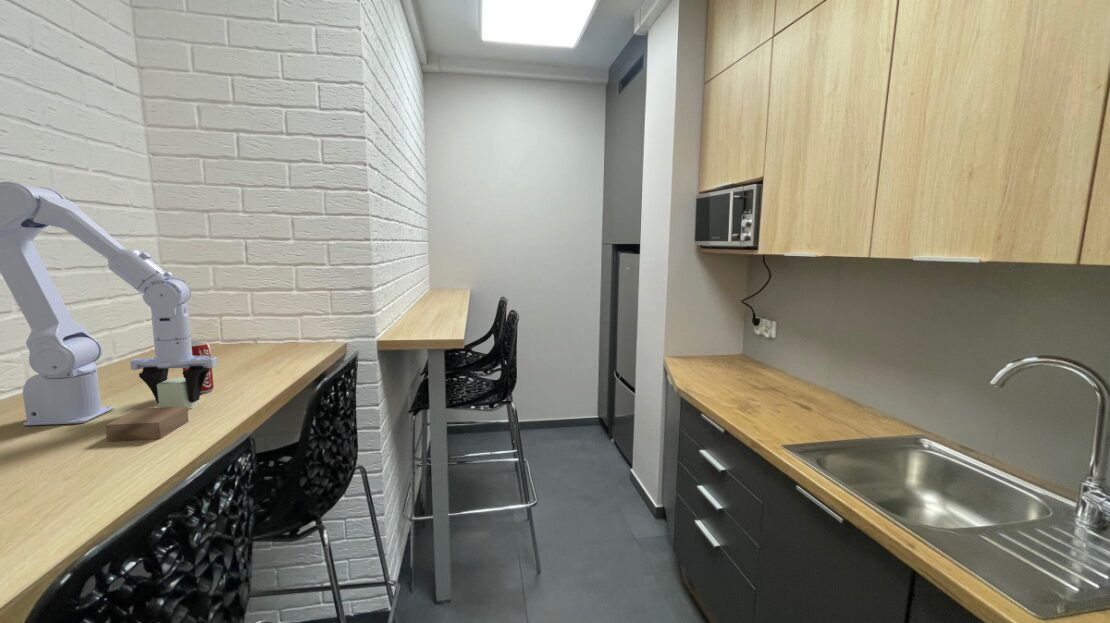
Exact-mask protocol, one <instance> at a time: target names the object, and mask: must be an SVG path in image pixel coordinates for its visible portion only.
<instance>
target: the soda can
mask: <svg viewBox="0 0 1110 623" xmlns="http://www.w3.org/2000/svg"><path fill="white" fill-rule="evenodd" d="M208 341H209V340H208V339H191V346H192V356H204V357H212V352H211V345H210V344H209V342H208ZM188 369H190V368H182V373H183V372H184V371H186V370H188ZM182 375H183V374H182ZM213 377H214V376H213V368H210V370H209V372H208V373H207V375H206V377H205V380H204V382H203V385H202V388H201V392H200V395H204V394H208V393H211V392H212V391H213V390H214V378H213ZM182 378H185V377H184V375H183V377H182Z"/></svg>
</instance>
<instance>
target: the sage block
mask: <svg viewBox="0 0 1110 623" xmlns="http://www.w3.org/2000/svg"><path fill="white" fill-rule="evenodd" d="M157 391H158V401H159V404H158V408H161V407H187V409H188V411H189V410H190V409H193V408H194V407H196V406H197V405H198V404H199V400H197V401H196V402H193V403H190V401H189V395H188V386H187V383H186V380H185V378H184V377H171V378H169V379H168V378H167V380H166V381H163V382H161V383H159V384H157Z"/></svg>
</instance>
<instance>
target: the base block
mask: <svg viewBox="0 0 1110 623" xmlns="http://www.w3.org/2000/svg"><path fill="white" fill-rule="evenodd" d="M188 422H189V410H188V409H187V407H161V408H159V407H142V408H141V407H139V408H137V409H134V410H133V411H131V412H128V413H126V414H124V415H123V416H121V417H119V418H116V419H114V420H112V421H111V422H108V423H106V424H105V431H106V432H105V433H106V440H107V442H122V441H139V440H140V441H142V440H144V441H145V440H158V439H159V440H160V439H163V438H164V437H166V436H167V435H169V434H171V433H172V432H174V431H176V430H178V429H179V428H180V427H182V426H183V425H185V424H187V423H188Z"/></svg>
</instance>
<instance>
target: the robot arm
mask: <svg viewBox="0 0 1110 623" xmlns="http://www.w3.org/2000/svg"><path fill="white" fill-rule="evenodd" d="M49 226H51V227H55V228H59V229H62V230H65V231H66V232H68V233H69V234H71V235H72V236H74V237H75V238H76V239H77V240H79V241H81V242H82V243H83V244H85V245H86V246H88V247H90V248H91V249H92V250H94V251H95V252H97V253H98V254H99V255H101V256H103V257H104V258H106V259H107V266H108V270H109V271H111V272H112V273H114V275H116V276H118V277H119V278H120V279H121V280H123V281H124V282H126V283H127V284H128V285H130V287H132V288H134V289H135V290H136V291H138V292H139V293H141V294H142V300H143V301H144V303H145V304H146V306H149V307H150V310H151V312H150V313H151V314H150V315H151V324H152V333H153V336H152V337H153V344H154V351H155V352H154V354H155V357H154V356H153V357H145V358H144V357H143V358H138V357H137V358H134V359H132V360H129V361H130V370H131V371H137V370H142V371H141V372H139V373H138V377H139V378H140V379H141V380H142V381H143V382H144V383H145V384H146V385H147V387H148V388H149V389H150V391H151V393H152V395H153V397H154V398H155V401H156V403H157V404H158V405H159V401H158V391H157V384H159V383H161V382H163V381H166V380H168V375H169V369H183V368H190V369H188V370H186V371H184V372H183V371H182V375H184V377H185V380H186V383H187V386H188V395H189V401H190V403H193V402H196V401H197V400H198V401H199V400H200V397H201V394H200V392H201V388H202V385H203V382H204V380H205V377H206V375H207V373H208V372H209V370H210V368H212V369H213V368H216V367H217V366H218V357H217V356H211V357H204V356H192V346H191V340H192V336H191V325H190V314H189V307H188V301H190V298H191V296H192V289H191V287H190V286H189V285H188V283H186V281H185V280H184V279H183V278H179V277H173V276H174V274H173V273H172V272H171V271H166V270H164V269H163V268H161V267H160V266H159V265H158V264H157V263H155V262H154V261H152V260H151V258H152V255H150V254H149V253H148V252H146V251H145V252H143V251H142V252H141V250H139V249H133V248H132V249H131V248H130V249H127V248H125V247H124V245H122V244H121V243H119V241H117V240H116V239H115V238H114V237H113V236H112V235H110V234H109V233H108V232H107V231H106V230H104V229H103V228H102V227H101V226H100V225H99V224H97V222H95V221H94V220H93V219H91V218H90V217H89V216H88V215H87V214H86V213H84V212H83V211H82V210H81V208H79V206H77V204H76V203H75V202H73V201H71V200H69V199H68V198H67V199H66V197H65V196H63V194H62V193H60V192H58V191H57V190H55V189H52V188H49V187H42V186H41V187H38V186H33V185H27V184H21V183H19V182H15V181H0V274H1V276H2V278H3V280H4V281H5V283H6V286H8V288H9V291H10V293H11V295H12V296H13V298H14V300H15V301H16V304H17V306H18V307H19V309H20V311H21V312H22V314H23V317H24V318H25V320H26V322H27V324H28V326H29V327H30V329H31V331H30V333H29V335H28V337H27V339H26V342H25V345H26V346H27V349H28V351H29V352H28V353H29V355H28V363H29V366H30V368H31V369H32V370H33V371H34V372H35V373H36V374H34V375H32V376H30V377H29V378H28V379H27V380H26V382H25V383H24V386H23V388H22V396H23V397H22V398H23V404H24V410H25V417H26V421H24V422H23V423H22V425H23V426H41V425H43V426H45V425H65V424H68V425H69V424H70V425H71V424H82V423H83V424H84V423H85V422H88V421H90V420H92V419H94V418H97V417H99V416H101V415H103V414H105V413H107V412H110V411H112V410H114V409H115V406H114V405H112V406H111V405H110V406H109V405H108V406H102V402H101V401H102V398H101V391H100V384H99V375H98V368H97V363H96V362H97V361H98V360H99V359H100V358H101V356H102V355H103V347H102V345H101V343H100V341H99V340H97V339H96V338H95V337H93V336H92V335H91V334H90V333H89V332H88V330H87V327H85V326H84V325H82V324H81V323H78V322H77V321H75V320H74V319H73V318H72V316H71V314H70V312H69V310H68V307H67V305H66V304H65V302H64V300H63V298H62V296H61V295H60V293H59V291H58V288H57V286H56V285H55V283H54V281H53V279H52V277H51V274H50V273H49V270H47V267H46V266H45V264H44V261H43V260H42V258H41V255H40V253H39V252H38V250H37V248H36V246H35V244H34V242H33V241H34V240H35V238H36V237H37V236H38V235H39V234H40V232H42V230H43V229H46V228H47V227H49ZM184 377H183V378H184Z"/></svg>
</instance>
